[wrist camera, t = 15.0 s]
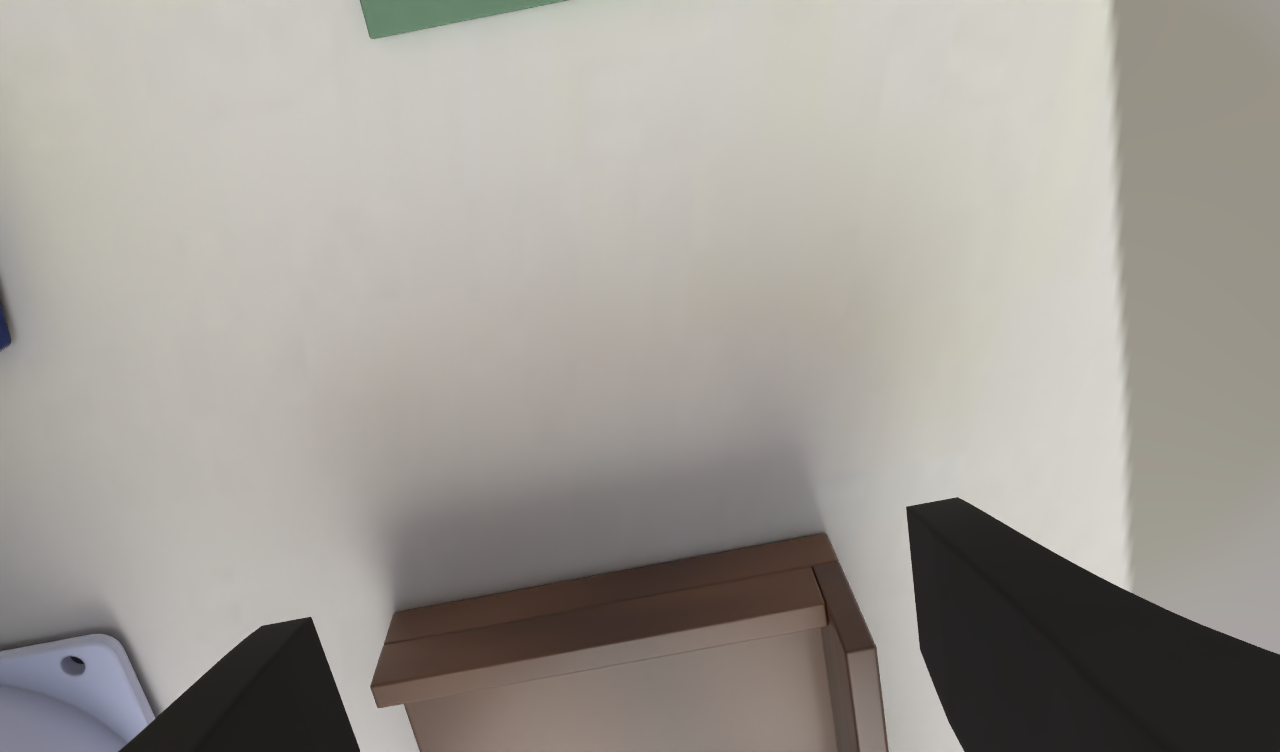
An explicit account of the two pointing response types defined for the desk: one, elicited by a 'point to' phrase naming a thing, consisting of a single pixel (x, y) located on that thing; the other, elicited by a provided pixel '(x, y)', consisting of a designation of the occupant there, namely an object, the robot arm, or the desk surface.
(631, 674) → the tray
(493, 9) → the green mat
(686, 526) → the desk surface
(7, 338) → the supplement box
